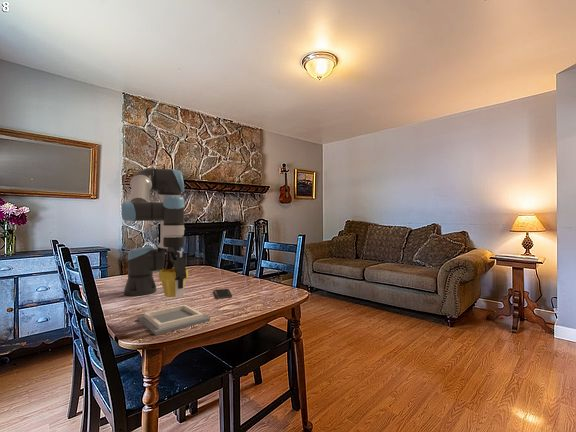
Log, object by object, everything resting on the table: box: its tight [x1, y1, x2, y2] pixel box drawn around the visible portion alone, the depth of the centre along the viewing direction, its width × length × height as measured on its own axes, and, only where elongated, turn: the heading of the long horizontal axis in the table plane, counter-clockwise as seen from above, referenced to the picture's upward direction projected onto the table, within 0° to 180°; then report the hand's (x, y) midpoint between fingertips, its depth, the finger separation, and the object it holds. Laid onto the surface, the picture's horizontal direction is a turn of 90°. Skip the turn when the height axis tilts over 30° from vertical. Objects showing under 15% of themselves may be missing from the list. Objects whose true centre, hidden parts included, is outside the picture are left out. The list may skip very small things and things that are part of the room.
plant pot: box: [158, 267, 189, 298], centre depth 113 cm, size 10×10×10 cm
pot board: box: [137, 304, 211, 336], centre depth 113 cm, size 20×20×2 cm
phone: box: [213, 288, 233, 300], centre depth 150 cm, size 8×1×15 cm
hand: (173, 294), depth 113 cm, fingers closed on plant pot, 10 cm apart
